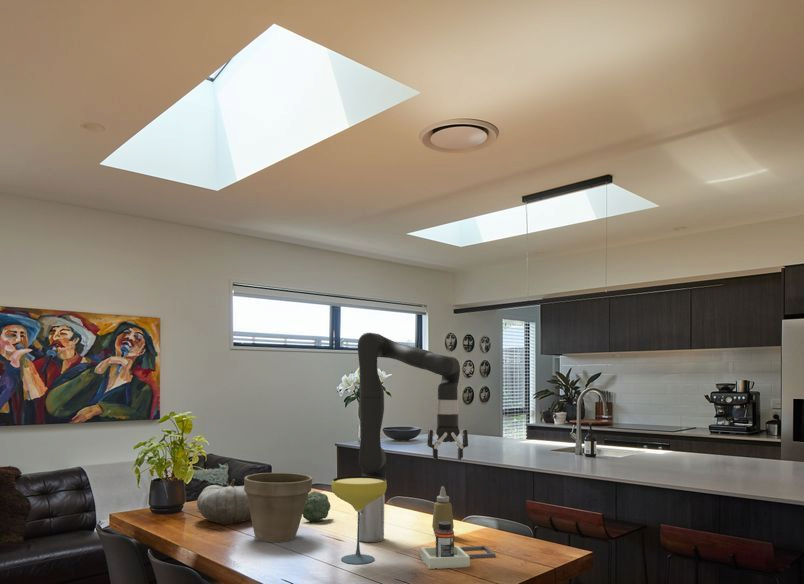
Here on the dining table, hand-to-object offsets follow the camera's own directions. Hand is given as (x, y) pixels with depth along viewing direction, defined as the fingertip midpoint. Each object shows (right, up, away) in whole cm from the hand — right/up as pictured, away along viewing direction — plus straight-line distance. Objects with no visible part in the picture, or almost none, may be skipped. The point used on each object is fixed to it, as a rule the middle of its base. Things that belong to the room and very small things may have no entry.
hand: (447, 459), depth 217 cm
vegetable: (-53, -36, +40) cm, 75 cm away
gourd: (-88, -35, +35) cm, 101 cm away
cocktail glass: (-30, -28, -17) cm, 45 cm away
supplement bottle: (-2, -27, -19) cm, 33 cm away
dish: (-2, -28, -19) cm, 34 cm away
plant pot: (-62, -32, +10) cm, 70 cm away
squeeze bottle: (-1, -33, +14) cm, 35 cm away
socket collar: (+9, -29, -9) cm, 32 cm away
